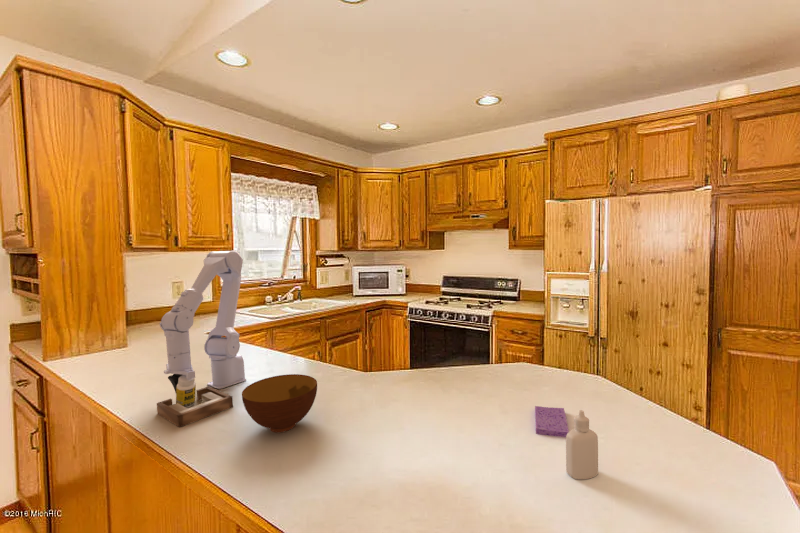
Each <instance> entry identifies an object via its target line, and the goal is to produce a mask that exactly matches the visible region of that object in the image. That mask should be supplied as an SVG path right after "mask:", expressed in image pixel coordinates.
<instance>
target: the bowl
mask: <svg viewBox="0 0 800 533" xmlns="http://www.w3.org/2000/svg"><path fill="white" fill-rule="evenodd" d="M317 392H318V382H317V379H316V378H314V377H313V376H310V375H306V374H298V373H297V374H295V373H294V374H293V373H292V374H281V375H276V376H270V377H266V378H262V379H260V380H257V381H255V382H253V383H251V384H249V385H247V386H246V387H245V388H244V389H242V392H241V398H242V404H243V406H244V410H245V411H246V412H247V414H248V416H249V418H251V419H252V420H253V421H254V422H255V423H256V424H257V425H258V426H261V427H264V428H266V429H269V430H270V432H273V433H285V432H288V431H290V429H291V430H293V429H294V428H295V427H294V426H296V425H297V424H298V423H299V422H300V421H302V420H303V419H304V418H305V417H306V416H307V415H308V414H309V412H310V410H311V409H312V408H313V407H312V406H313V405H314V403H315V400H316V397H317ZM293 427H294V428H293ZM284 431H285V432H284Z"/></svg>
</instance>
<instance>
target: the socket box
mask: <svg viewBox="0 0 800 533" xmlns="http://www.w3.org/2000/svg"><path fill="white" fill-rule="evenodd" d="M195 392H196V400H197V401H198V402H199V400H200V401H201V404H197V405H193V406H191V407H188V408H186V407H184V406H182V405H180V404H178V403H176V402H175V403H174V404H173V398H168V399H166V400H161V401H158V402H157V403H156V412H157V415H159V416H160V417H162V418H164V419H165V420H167V421H169V422H170V423H172V424H174V425H175V426H177V427H178V428H181V427H184V426H186V425H190V424H192V423H194V422H197V421H200V420H202V419H205V418H207V417H211V416H213V415H215V414H218V413H221V412H223V411H226V410H228V409H230V408H233V407H234V405H233V403H234V402H233V401H234V400H233V396H232V395H230V394H228V393H226V392H224V391H223V392H222V391H221V390H219V389H217V388H214V387H212V386H209V385H207V386H206V387H205V386H204V387H203V388H199V389H196V390H195Z"/></svg>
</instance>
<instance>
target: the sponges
mask: <svg viewBox="0 0 800 533" xmlns="http://www.w3.org/2000/svg"><path fill="white" fill-rule="evenodd" d="M534 414H535V417H534V418H535V434H536V435H542V436H552V437H562V438H566V435H567V434H568V432H570V430H569V426H568V421H567V416H566V412H565V407H547V406H538V405H537V406H536V405H535V406H534Z"/></svg>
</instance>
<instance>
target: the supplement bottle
mask: <svg viewBox="0 0 800 533" xmlns="http://www.w3.org/2000/svg"><path fill="white" fill-rule="evenodd" d="M195 378H196V377H195ZM195 378H192V379H189V380H188V379H186V377H185V376H184V375H182V376H180V377H179V379H178V384H177V387H176V392H175V404H176V403H178V404H180V405H182V406H184V407H186V408H191V407H193V406H194V405H195V404H196V403H195V402H196V390H197V389H196V384H197V383H196V381H195V380H196V379H195Z"/></svg>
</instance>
